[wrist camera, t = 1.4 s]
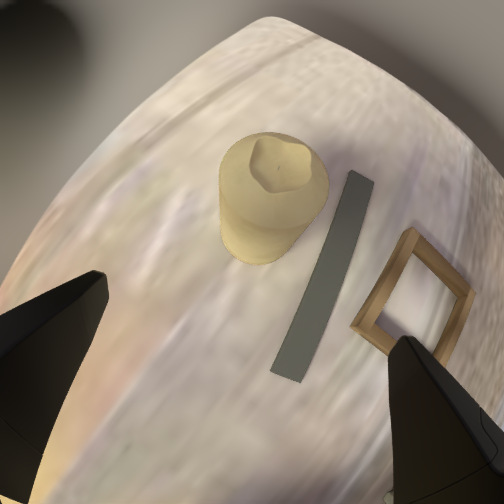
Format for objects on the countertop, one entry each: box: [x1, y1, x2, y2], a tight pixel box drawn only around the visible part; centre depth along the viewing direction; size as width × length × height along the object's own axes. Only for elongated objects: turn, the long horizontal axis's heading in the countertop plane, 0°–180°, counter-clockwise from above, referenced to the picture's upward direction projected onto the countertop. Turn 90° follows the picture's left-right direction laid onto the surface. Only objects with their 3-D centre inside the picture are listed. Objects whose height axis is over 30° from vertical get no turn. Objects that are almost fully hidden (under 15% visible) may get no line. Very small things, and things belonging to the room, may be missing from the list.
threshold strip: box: [270, 170, 374, 383], centre depth 22 cm, size 18×2×1 cm, turn 155°
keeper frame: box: [350, 227, 476, 368], centre depth 21 cm, size 10×10×2 cm
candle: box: [219, 132, 329, 265], centre depth 17 cm, size 6×6×10 cm
